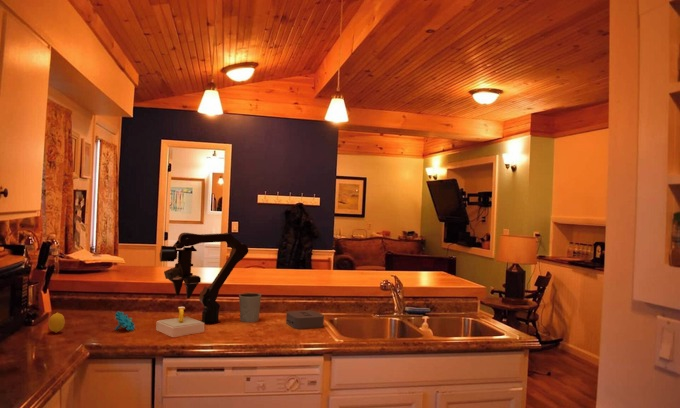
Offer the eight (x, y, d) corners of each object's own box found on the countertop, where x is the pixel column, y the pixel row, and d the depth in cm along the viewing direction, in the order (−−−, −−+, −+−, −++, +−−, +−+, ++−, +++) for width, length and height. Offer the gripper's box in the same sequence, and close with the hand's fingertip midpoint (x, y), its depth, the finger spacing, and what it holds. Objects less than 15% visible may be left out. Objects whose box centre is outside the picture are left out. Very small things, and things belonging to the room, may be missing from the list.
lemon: (67, 332, 189) (68, 312, 189) (53, 335, 184) (55, 314, 184) (58, 330, 191) (59, 310, 191) (44, 333, 186) (45, 312, 186)
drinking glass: (264, 320, 224) (265, 294, 225) (249, 324, 216) (250, 297, 216) (248, 317, 230) (249, 292, 230) (233, 320, 221) (234, 294, 222)
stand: (187, 325, 209) (187, 316, 209) (204, 331, 199) (204, 322, 199) (156, 330, 199) (156, 320, 199) (172, 337, 189) (173, 327, 189)
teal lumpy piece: (128, 329, 191) (113, 310, 192) (116, 340, 190) (101, 320, 192) (141, 327, 202) (126, 309, 203) (130, 336, 201) (115, 318, 203)
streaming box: (325, 328, 216) (326, 316, 216) (295, 330, 210) (296, 318, 210) (312, 320, 229) (313, 310, 229) (284, 322, 223) (284, 311, 223)
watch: (184, 323, 197) (185, 309, 196) (177, 323, 196) (178, 309, 195) (183, 319, 202) (184, 305, 202) (176, 319, 201) (177, 305, 201)
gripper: (157, 259, 211) (155, 295, 211) (178, 264, 198) (176, 302, 198) (180, 258, 219) (178, 293, 219) (202, 263, 206) (200, 299, 206)
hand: (182, 296), depth 210 cm, fingers open, 9 cm apart
